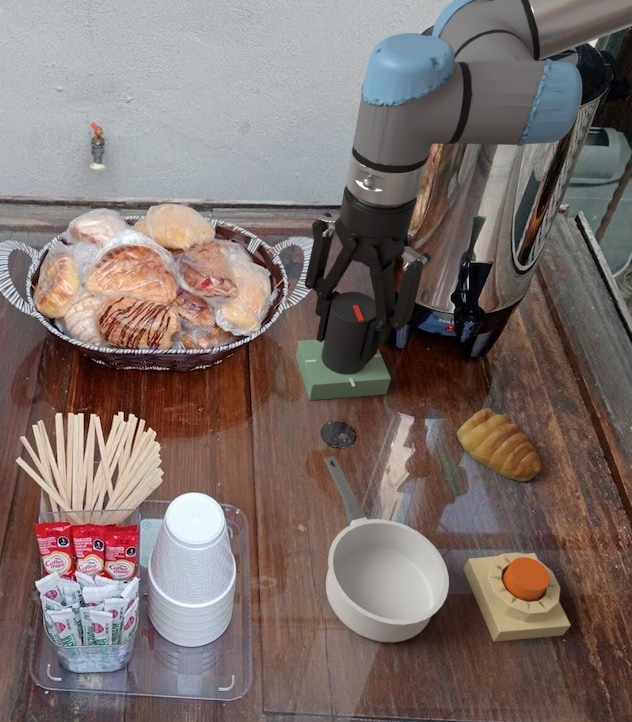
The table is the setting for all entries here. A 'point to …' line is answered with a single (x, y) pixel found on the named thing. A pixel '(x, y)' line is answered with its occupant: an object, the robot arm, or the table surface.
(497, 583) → the block
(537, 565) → the button
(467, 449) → the pastry
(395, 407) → the table surface
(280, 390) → the table surface
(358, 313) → the timer knob
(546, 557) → the table surface
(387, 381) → the panel
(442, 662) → the table surface
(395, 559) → the saucepan
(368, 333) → the robot arm
